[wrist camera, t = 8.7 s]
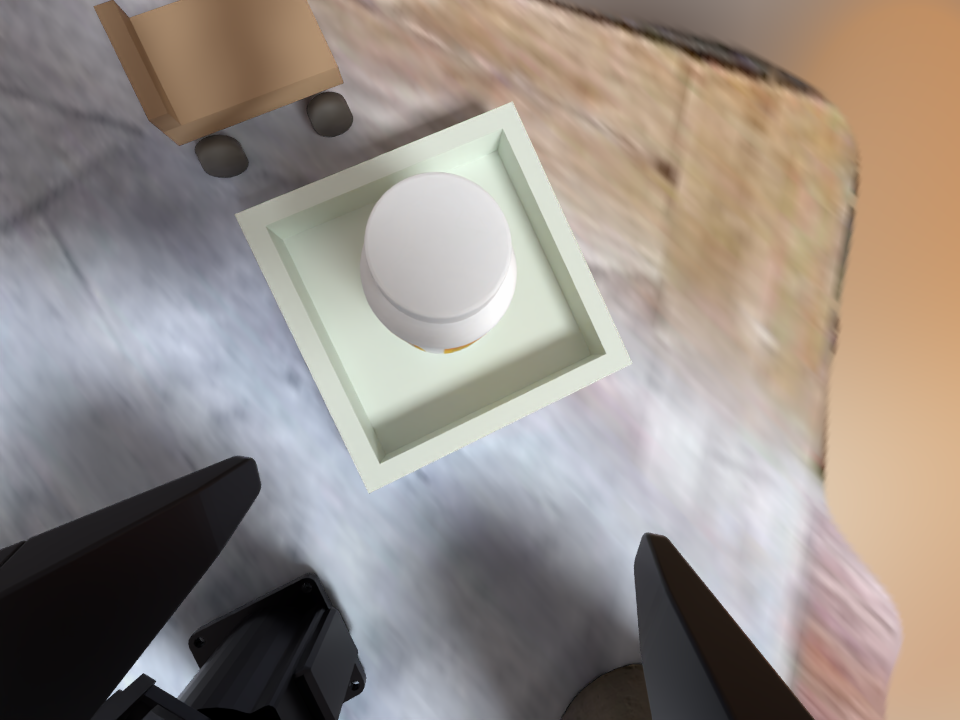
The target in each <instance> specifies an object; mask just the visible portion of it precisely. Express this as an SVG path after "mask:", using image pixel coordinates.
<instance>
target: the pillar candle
mask: <svg viewBox="0 0 960 720" xmlns="http://www.w3.org/2000/svg"><path fill="white" fill-rule="evenodd" d="M561 720H652V714H651V709H650V703H649V698H648V692H647V687H646V681H645V676H644V670H643V664H641V665H640V664H631V665H628V666H625V667H620V668H617V669H614V670H613V671H611V672H609V673H606V674H604V675H602V676H600V677H599V678H597V679H596V680H595V681H593V682H592V683H590V684H589V685H588V686H586V687H585V688H584V689H583V690H582V691H581V692H580V693H579V694H578V695H577V696H576V698H575V699H574V700H573V701H572V703H571V704H570V705H569V707H568V709H567V711H566V713H565V714H564V715H563V716H562V719H561Z"/></svg>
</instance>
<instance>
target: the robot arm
mask: <svg viewBox="0 0 960 720" xmlns="http://www.w3.org/2000/svg"><path fill="white" fill-rule="evenodd" d="M260 489H261V481H260V477H259V473H258V469H257V465H256V462H255V460H254V459H252V458H249V457H244V456H234V457H231V458H228V459H226V460H224V461H221V462H219V463H216V464H214V465H211V466H209V467H206V468H204V469H201V470H199V471H196V472H194V473H191V474H189V475H186V476H184V477H181V478H179V479H176V480H174V481H171V482H169V483H166V484H164V485H161V486H159V487H156V488H154V489H151V490H149V491H146V492H144V493H141V494H139V495H136V496H134V497H131V498H129V499H126V500H124V501H121V502H119V503H116V504H114V505H111V506H109V507H106V508H104V509H101V510H99V511H96V512H94V513H91V514H89V515H86V516H84V517H81V518H79V519H76V520H74V521H71V522H69V523H66V524H64V525H61V526H59V527H56V528H54V529H51V530H49V531H46V532H44V533H41V534H39V535H36V536H34V537H31V538H29V539H28V540H27V541H21V542H19V543H16V544H14V545H11V546H9V547H6V548H4V549H1V550H0V720H338V718H339V714H340V711H341V708H342V704H343V703H344V702H346V701H348V700H350V699H351V698H353V697H355V696H357V695H359V694H360V693H361V692H362V691H363V689H364V687H365V683H366V674H365V672H364V670H363V668H362V666H361V664H360V662H359V660H358V658H357V654H358V650H357V648H356V646H355V644H354V642H353V640H352V638H351V636H350V633H349V631H348V629H347V627H346V625H345V623H344V621H343V619H342V617H341V615H340V613H339V611H338V610H337V609H336V608H334V607H332V605H331V603H330V601H329V599H328V596H327V594H326V592H325V590H324V588H323V586H322V584H321V582H320V580H319V578H318V577H317V576H316V575H314V574H310V573H309V574H305V575H303V576H301V577H299V578H297V579H295V580H293V581H291V582H289V583H287V584H285V585H284V586H282V587H280V588H278V589H276V590H274V591H272V592H270V593H268V594H266V595H264V596H262V597H260V598H258V599H256V600H254V601H252V602H250V603H248V604H246V605H244V606H242V607H240V608H238V609H236V610H234V611H232V612H230V613H228V614H226V615H224V616H222V617H220V618H218V619H216V620H214V621H212V622H210V623H208V624H206V625H205V626H203V627H201V628H199V629H198V630H197V631H196V632H195V633H194V634H193V635H192V636H191V637H190V639H189V643H188V644H189V648H190V650H191V652H192V654H193V656H194V658H195V660H196V662H197V664H198V666H199V668H200V670H199V671H198V673H197V674H196V675H195V676H194V678H193V679H192V680H191V681H190V683H189V684H188V685H187V686H186V688H185V689H184V690H183V691H182V693H181V694H180V695H179V696H178V698H175V697H174V696H172V695H170V694H169V693H167V692H165V691H164V690H162V689H160V688H159V687H157V686H155V685H154V684H155V682H156V681H155V680H154V679H152V678H150V677H149V676H147V675H146V674H144V673H143V674H142V675H141V676H140V677H138V678H137V679H136V680H135V681H134V682H133V683H131V684H130V685H129V686H128V687H127V688H126V689H125V690H123V691H122V690H120V689H119V690H118V691H117V692H115V693H114V694H113V695H112V696H111V697H110V698H108V697H109V696H110V694H111V693H112V692H113V691H114V689H115V688H116V687H117V685H118V684H119V683H120V682H121V680H122V679H123V678H124V676H125V675H126V674H127V673H128V671H129V670H130V669H131V667H132V666H133V665H134V664H135V662H136V661H137V660H138V658H139V657H140V656H141V655H142V653H143V652H144V651H145V649H146V648H147V647H148V646H149V644H150V643H151V642H152V640H153V639H154V638H155V637H156V635H157V634H158V633H159V631H160V630H161V629H162V628H163V626H164V625H165V624H166V622H167V621H168V620H169V619H170V617H171V616H172V615H173V613H174V612H175V611H176V610H177V608H178V607H179V606H180V604H181V603H182V602H183V601H184V599H185V598H186V597H187V595H188V594H189V593H190V592H191V590H192V589H193V588H194V586H195V585H196V584H197V583H198V581H199V580H200V579H201V577H202V576H203V575H204V574H205V572H206V571H207V570H208V568H209V567H210V566H211V565H212V563H213V562H214V561H215V559H216V558H217V557H218V555H219V554H220V552H221V551H222V549H223V548H224V547H225V545H226V544H227V542H228V541H229V539H230V538H231V536H232V534H233V533H234V531H235V530H236V528H237V527H238V525H239V524H240V522H241V521H242V519H243V518H244V516H245V514H246V513H247V511H248V510H249V508H250V507H251V505H252V504H253V502H254V501H255V499H256V498H257V496H258V494H259V492H260ZM634 577H635V589H636V602H637V615H638V628H639V640H640V651H641V658H642V664H643V670H644V676H645V681H646V687H647V692H648V698H649V703H650V709H651V714H652V720H815V719H814V718H813V717H812V716H811V714H810V713H809V712H808V711H807V709H806V708H805V707H804V706H803V704H802V703H801V702H800V701H799V700H798V698H797V697H796V696H795V695H794V693H793V692H792V691H791V690H790V688H789V687H788V686H787V685H786V683H785V682H784V681H783V680H782V679H781V677H780V676H779V675H778V674H777V672H776V671H775V670H774V669H773V667H772V666H771V665H770V664H769V662H768V661H767V660H766V659H765V658H764V656H763V655H762V654H761V653H760V651H759V650H758V649H757V648H756V646H755V645H754V644H753V643H752V641H751V640H750V639H749V638H748V637H747V635H746V634H745V633H744V632H743V630H742V629H741V628H740V627H739V625H738V624H737V623H736V622H735V621H734V619H733V618H732V617H731V616H730V614H729V613H728V612H727V611H726V609H725V608H724V607H723V606H722V604H721V603H720V602H719V601H718V600H717V598H716V597H715V596H714V595H713V593H712V592H711V591H710V590H709V588H708V587H707V586H706V585H705V583H704V582H703V581H702V580H701V579H700V577H699V576H698V575H697V574H696V572H695V571H694V570H693V569H692V567H691V566H690V565H689V564H688V562H687V561H686V560H685V559H684V558H683V556H682V555H681V554H680V553H679V551H678V550H677V549H676V548H675V546H674V545H673V544H672V543H671V541H670V540H669V539H668V538H667V537H665V536H663V535H658V534H653V533H644V535H643V536H642V539H641V542H640V545H639V548H638V551H637V554H636V557H635V562H634ZM304 583H310V584H311V585H312V588H306V587H305V585H304ZM199 637H202V638H203V639H204V640H205V642H202V641H201V640H200V639H199ZM354 680H356V681H358V682H359V684H353V683H352V681H354ZM107 698H108V699H107Z"/></svg>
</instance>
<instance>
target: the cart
mask: <svg viewBox="0 0 960 720" xmlns="http://www.w3.org/2000/svg"><path fill="white" fill-rule="evenodd" d="M94 9H95V11H96V13H97V15H98V17H99V19H100V21H101V23H102V25H103V27H104V29H105V31H106V33H107V35H108V37H109V39H110V42H111V44H112V46H113V48H114V50H115V52H116V54H117V56H118V58H119V60H120V62H121V64H122V66H123V68H124V70H125V73H126V75H127V77H128V79H129V81H130V83H131V85H132V87H133V89H134V91H135V93H136V95H137V97H138V99H139V101H140V103H141V106H142V108H143V110H144V112H145V114H146V116H147V118H148V120H149V121H150V122H151V123H152V124H154V125H155V126H156V127H157V128H158V129H160V130H161V131H162V132H163V133H164V134H166V135H167V136H168V137H169V138H170V139H172V140H173V141H174V142H175V143H176V144H178V145H179V146H180V145H183V144H186V143H188V142H191V141H193V140H196V139H199V138H201V137H204V136H206V135H209V134H212V133H214V132H217V131H220V130H222V129H225V128H227V127H230V126H233V125H235V124H238V123H241V122H243V121H246V120H248V119H251V118H254V117H256V116H259V115H261V114H264V113H267V112H269V111H272V110H275V109H277V108H280V107H282V106H285V105H288V104H290V103H293V102H295V101H298V100H301V99H303V98H306V97H309V96H311V95H314V94H316V93H319V92H322V91H324V90H327V89H329V88H332V87H335V86H337V85H340V84H343V80H342V77H341V74H340V71H339V69H338V66H337V64H336V62H335V60H334V57H333V55H332V53H331V51H330V49H329V47H328V45H327V43H326V40H325V38H324V36H323V34H322V32H321V30H320V28H319V26H318V23H317V21H316V19H315V17H314V15H313V13H312V11H311V9H310V6H309V4H308V2H307V0H180V1H177V2H174V3H171V4H168V5H165V6H162V7H159V8H156V9H154V10H151V11H148V12H145V13H142V14H139V15H136V16H133V17H130V18H129V17H128V16H127V15H126V14H125V12H124V11H123V10H122V9H121V8H120V7H119V6H118V5H117V4H116V2H115V1H114V0H111V1H108V2H105V3H102V4H99V5H97V6H94ZM307 114H308V116H309V118H310V120H311V122H312V125H313V127H314V129H315V131H316V132H317V133H318V134H320V135H322V136H325V137H333V136H337V135H340V134H342V133H344V132H345V131H347V130H348V129H349V128H350V126H351V125H352V122H353V115H352V113H351V111H350V109H349V107H348V105H347V103H346V101H345V99H344V97H343V96H342V95H340V94H338V93H335V92H325V93H321V94H319V95H317V96H315V97H314V98H313V99H312V100H311V101H310V102H309V104H308V106H307ZM195 153H196V155H197V157H198V159H199V161H200V163H201V165H202V167H203V169H204V171H205V172H206V173H208V174H209V175H211V176H214V177H220V178H227V177H233V176H236V175H239V174H241V173H242V172H244V171H245V170H246V169H247V167H248V159H247V157H246V155H245V153H244V151H243V149H242V147H241V145H240V143H239V142H238V141H237V140H235V139H234V138H232V137H229V136H224V135H214V136H209V137H206V138H204V139H202V140H201V141H199V142H198V143H197V145H196V147H195Z"/></svg>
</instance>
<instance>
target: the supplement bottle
mask: <svg viewBox="0 0 960 720" xmlns="http://www.w3.org/2000/svg"><path fill="white" fill-rule="evenodd" d="M360 275H361V282H362V286H363V290H364V294H365V296H366V299H367V302H368V304H369V305H370V307H371V309H372V311H373V312H374V314H375V315H376V317H377V318H378V319H379V320H380V322H381V323H382V324H383V325H384V326H385V327H386V328H387V329H388V330H389V331H391V332H392V333H393V334H394V335H396V336H397V337H399V338H400V339H402V340H404V341H405V342H407V343H408V344H410V345H411V346H413V347H415V348H417V349H419V350H422V351H425V352H429V353H434V354H448V353H453V352H457V351H460V350H462V349H465V348H467V347H468V346H470V345H472V344H473V343H474V342H476V341H477V340H479V339H480V338H482V337H483V336H484V335H486V334H487V333H488V332H489V331H490V330H491V329H492V328H494V327H495V325H496V324H497V323H498V322H499V321H500V319H501V318H502V317H503V315H504V314H505V312H506V311H507V309H508V307H509V305H510V303H511V300H512V297H513V295H514V291H515V286H516V280H517V265H516V258H515V254H514V250H513V247H512V242H511V234H510V229H509V226H508V223H507V220H506V218H505V216H504V214H503V212H502V210H501V208H500V207H499V205H498V204H497V202H496V201H495V200H494V199H493V197H492V196H491V195H490V194H489V193H488V192H486V191H485V190H484V189H483V188H482V187H481V186H479V185H478V184H476V183H474V182H472V181H470V180H468V179H466V178H464V177H462V176H458V175H455V174H451V173H445V172H427V173H421V174H417V175H413V176H410V177H408V178H406V179H403V180H401V181H400V182H398V183H396V184H395V185H394V186H392V187H391V188H390V189H389V190H387V191H386V192H385V193H384V194H383V195H382V196H381V198H380V199H379V200H378V201H377V203H376V204H375V206H374V208H373V209H372V212H371V214H370V216H369V219H368V222H367V225H366V229H365V236H364V244H363V248H362V252H361V259H360Z"/></svg>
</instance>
